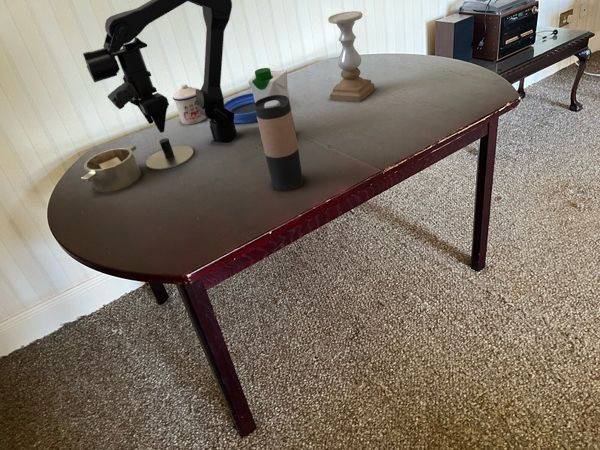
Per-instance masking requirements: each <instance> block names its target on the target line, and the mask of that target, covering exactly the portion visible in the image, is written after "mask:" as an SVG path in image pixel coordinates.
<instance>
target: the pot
mask: <svg viewBox="0 0 600 450" xmlns="http://www.w3.org/2000/svg"><path fill="white" fill-rule="evenodd" d="M136 150H137V147H136V145H130V144H129V145H127V146H126V147H115V148H111V149H106V150H104V151H101V152H98V153H96V154H94V155H93V156H91V157H90V158H88V159H87V160H86V161H85V163H84V164H83V165H84V166H83V168H84V170H85V172H86V174H85V175H83V176H81V180H82V182H86V183H87V182H89V183H91V185H92V188H93V190H95V191H96V192H98V193H110V192H116V191H120V190H123V189H124V188H127V187H129V186H131V185H132V184H134V183H135V182H136V181H138V180H139V179H140V177H141V176H142V173H141V169H140V166H139V165H138V162H137V159H136V157H135V155H134V151H136ZM114 158H118V159H119V160H120V161H121V162H120V163H118V164H116V165H114V166H110V167H107V168H103V169H101V168H100V165H99V164H101V163H104V162H106V161H109V160H112V159H114Z"/></svg>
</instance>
